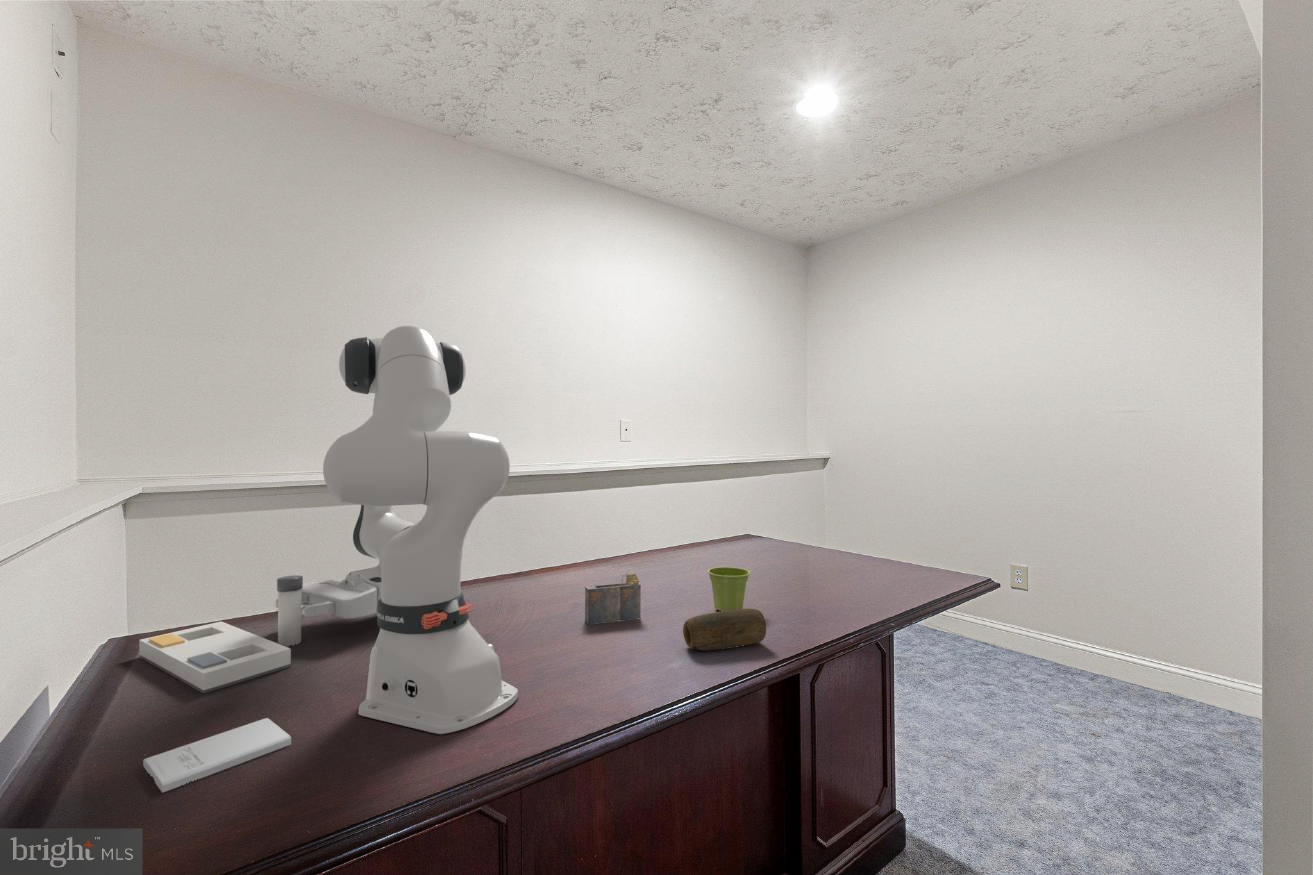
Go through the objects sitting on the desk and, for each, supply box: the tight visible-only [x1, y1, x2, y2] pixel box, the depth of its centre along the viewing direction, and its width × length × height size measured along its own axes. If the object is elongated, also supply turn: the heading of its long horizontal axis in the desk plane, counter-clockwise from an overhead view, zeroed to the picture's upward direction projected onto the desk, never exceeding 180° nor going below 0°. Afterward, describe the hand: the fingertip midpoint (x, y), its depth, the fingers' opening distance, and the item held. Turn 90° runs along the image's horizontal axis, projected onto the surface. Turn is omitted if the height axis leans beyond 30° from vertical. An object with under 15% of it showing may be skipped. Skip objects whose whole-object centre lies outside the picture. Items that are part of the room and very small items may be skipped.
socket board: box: [138, 621, 292, 694], centre depth 97 cm, size 26×12×3 cm, turn 58°
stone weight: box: [682, 608, 767, 651], centre depth 106 cm, size 15×7×7 cm, turn 112°
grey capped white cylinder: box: [276, 574, 304, 647], centre depth 106 cm, size 4×4×12 cm
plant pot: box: [707, 566, 751, 612], centre depth 129 cm, size 9×9×9 cm
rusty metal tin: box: [584, 572, 642, 625], centre depth 121 cm, size 11×3×10 cm, turn 111°
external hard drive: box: [142, 717, 292, 793], centre depth 69 cm, size 2×8×12 cm
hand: (290, 607), depth 106 cm, fingers open, 8 cm apart
